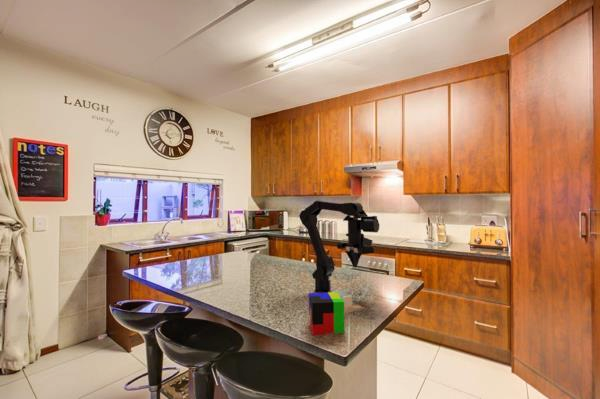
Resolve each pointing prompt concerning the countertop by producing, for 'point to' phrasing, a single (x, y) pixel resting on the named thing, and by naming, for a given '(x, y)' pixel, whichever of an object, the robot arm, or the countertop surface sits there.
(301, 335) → the countertop surface
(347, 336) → the countertop surface
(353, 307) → the mat
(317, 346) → the countertop surface
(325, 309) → the puzzle toy
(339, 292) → the pillar
